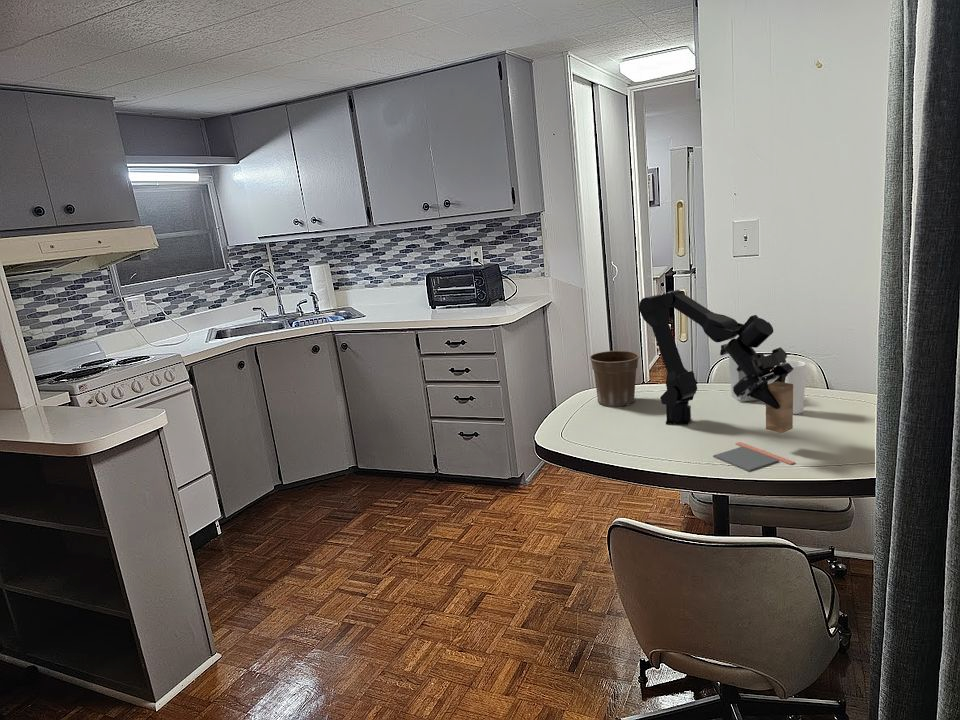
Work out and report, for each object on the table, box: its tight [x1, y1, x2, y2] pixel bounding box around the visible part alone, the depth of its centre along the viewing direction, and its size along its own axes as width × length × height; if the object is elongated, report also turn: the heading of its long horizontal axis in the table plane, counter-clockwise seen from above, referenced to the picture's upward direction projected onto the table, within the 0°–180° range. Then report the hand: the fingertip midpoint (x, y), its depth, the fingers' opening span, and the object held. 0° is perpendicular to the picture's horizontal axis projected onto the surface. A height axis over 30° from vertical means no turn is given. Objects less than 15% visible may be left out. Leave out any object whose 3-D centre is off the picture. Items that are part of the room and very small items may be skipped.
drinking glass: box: [780, 360, 807, 415], centre depth 198 cm, size 7×7×15 cm
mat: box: [712, 446, 780, 472], centre depth 170 cm, size 12×10×1 cm
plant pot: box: [589, 350, 640, 408], centre depth 224 cm, size 16×16×16 cm
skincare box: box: [728, 354, 758, 403], centre depth 215 cm, size 8×7×16 cm
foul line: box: [735, 441, 796, 466], centre depth 172 cm, size 18×2×1 cm, turn 24°
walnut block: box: [765, 381, 794, 434], centre depth 172 cm, size 5×5×12 cm
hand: (784, 405), depth 170 cm, fingers closed on walnut block, 5 cm apart
